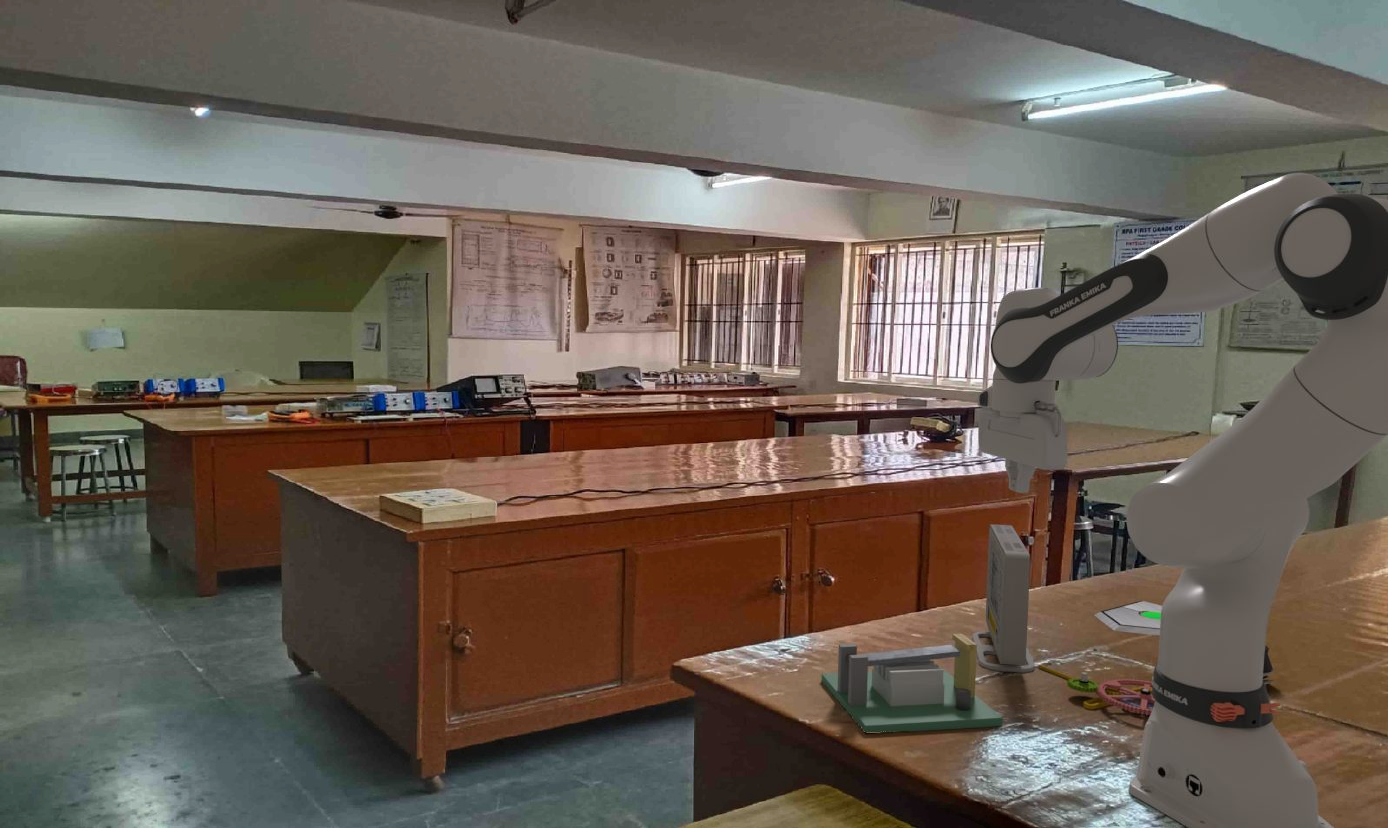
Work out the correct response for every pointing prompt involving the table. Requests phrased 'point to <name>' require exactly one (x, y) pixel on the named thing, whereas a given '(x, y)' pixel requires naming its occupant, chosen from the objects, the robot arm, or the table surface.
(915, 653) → the strap
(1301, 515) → the robot arm
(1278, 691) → the table surface
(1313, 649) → the table surface
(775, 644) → the table surface
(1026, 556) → the network device
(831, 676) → the board
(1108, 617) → the security device
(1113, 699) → the mechanical gear assembly
